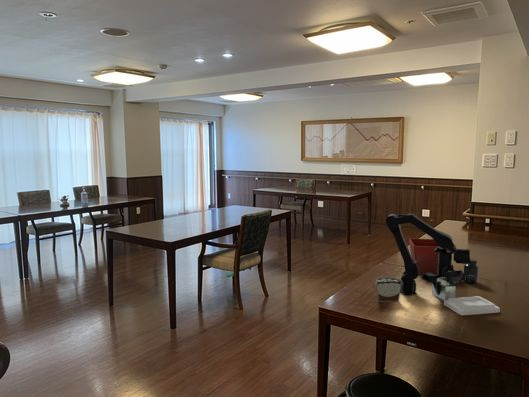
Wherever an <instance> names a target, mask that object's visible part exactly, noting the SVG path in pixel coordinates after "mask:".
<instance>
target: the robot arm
mask: <svg viewBox="0 0 529 397" xmlns="http://www.w3.org/2000/svg"><path fill="white" fill-rule="evenodd" d="M409 223H410V224H411V225H413V226H414V227H415V228H417V229H419V230H420V231H422V232H423V233H425V234H426V235H427V236H429V237H431V239H434V241H435V242H436V243H437V244H438V245H439V246H440V247H442V248H440V247H439V246H438V247H437V248H436V249H435V250H434V252H439V254H438V263H436V265H438V271H436V273H437V274H438V275H434V274H432V273H424V274H422V279H423V280H425V281H426V282H428V283H431V284H433V286H434V288H435V290H436V293H437V295H439V293H440V284H441V283H442V282H440V279H443V280H444V279H445V281H446V282H448V283H450V284H452V285H454V286H455V284H457V283H460V281H463V280H466V276H465V274H464V273H463V272H464V271H462V270H457V269H456V270H455V269H454V267H455V266H454V265H453V264H452V262H453V261H454V262H455V264H461V265H465V264H469V265H470V259H471V257H470V254H471V252H470V249H469V248H458V247H457V246H456V245H455V243H454V242H453V237H452V236H451V235H450V234H447V233H445V232H443V231H440V230H438V229H436V228H434V227H433V226H431V225H430V224H429V223H427V222H425V221H423V220H422V219H421V218H420V217H418V216H416V215H415V214H414V213H404V214H396V213H391V214H389V215H388V216H387V217H386V218H385V224H386V227H387V228H388V229H389V231H390V232H391V234H392V235H393V237H394V240H395V242H396V245H397V247H398V251H399V252H400V256H401V258H402V260H403V264H404V265H403V266H404V271H403V272H402V274H401V277H400V278H399V279H400V280H402V284H403V285H402V284H401V289H400V294H402V295H405V296H409V295H417V294H418V293H417V283H416V279H418V278H419V275H420V274H419V270H420V267H419V265H418V261H417V260H416V261H414V260H413V259H412V256H411V251H410V248H409V247H408V245H407V242H406V240H405V236H404V235H403V232H402V225H404V224H409ZM447 249H448V250H449V251H448V250H447ZM452 260H453V261H452Z"/></svg>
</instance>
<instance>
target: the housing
mask: <svg viewBox="0 0 529 397" xmlns="http://www.w3.org/2000/svg"><path fill="white" fill-rule="evenodd" d="M440 282H442V283H441V284H440V293H439V295H437V293H436V290H435V288H434V286H433V284H432V283H431V284H432V289H431V292H432V293H431V295H433V296H434V297H437V298H438V299H439V300H441V301H443V302H444V300H449V298H456V285H455V284H454V285H452V284H450V283H448V282H446V280H444V279H440Z"/></svg>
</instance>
